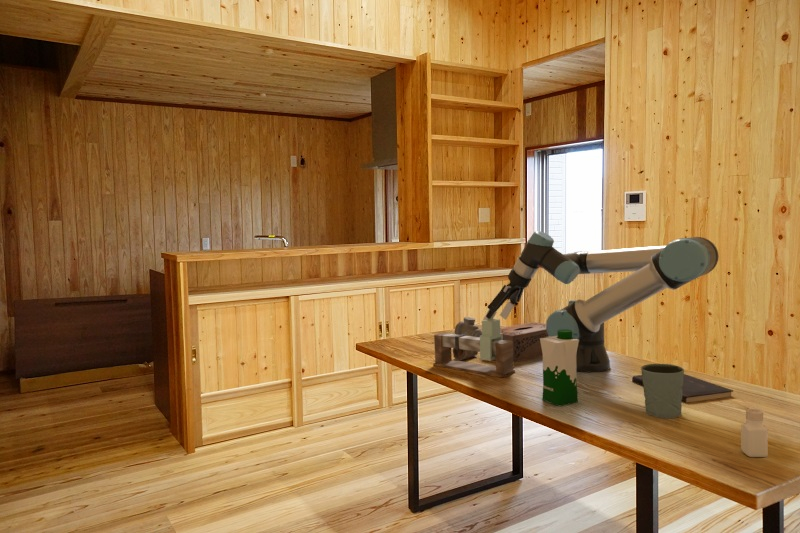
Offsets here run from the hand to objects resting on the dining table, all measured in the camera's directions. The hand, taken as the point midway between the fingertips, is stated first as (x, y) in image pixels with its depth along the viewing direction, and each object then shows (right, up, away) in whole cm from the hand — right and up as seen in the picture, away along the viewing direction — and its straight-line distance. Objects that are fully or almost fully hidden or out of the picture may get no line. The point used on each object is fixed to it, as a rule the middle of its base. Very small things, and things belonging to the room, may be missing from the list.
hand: (494, 320), depth 210 cm
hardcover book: (+49, -18, -36) cm, 64 cm away
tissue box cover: (+14, -15, +16) cm, 26 cm away
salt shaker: (+42, -21, -84) cm, 97 cm away
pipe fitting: (-4, -13, +42) cm, 45 cm away
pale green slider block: (-2, -12, -10) cm, 16 cm away
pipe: (-10, -15, +16) cm, 24 cm away
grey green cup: (+35, -19, -57) cm, 69 cm away
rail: (-8, -16, -4) cm, 19 cm away
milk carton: (+12, -19, -44) cm, 49 cm away
